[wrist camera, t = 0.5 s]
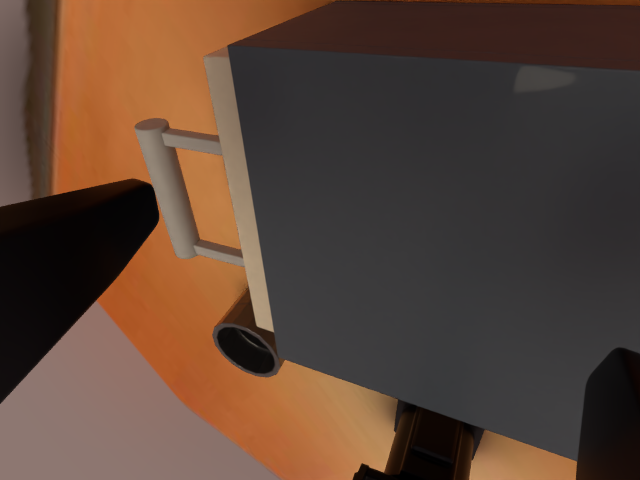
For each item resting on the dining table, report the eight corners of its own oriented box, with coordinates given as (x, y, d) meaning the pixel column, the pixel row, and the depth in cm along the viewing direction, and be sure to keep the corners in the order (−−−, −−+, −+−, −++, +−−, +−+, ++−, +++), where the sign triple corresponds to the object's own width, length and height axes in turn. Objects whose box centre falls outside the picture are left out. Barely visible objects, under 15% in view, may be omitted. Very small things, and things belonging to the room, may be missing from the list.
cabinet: (339, 255, 27) (277, 357, 21) (335, 0, 18) (226, 44, 12) (660, 333, 21) (708, 507, 15) (887, 9, 12) (1234, 106, 6)
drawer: (244, 235, 28) (181, 302, 23) (203, 15, 20) (92, 47, 15) (604, 322, 21) (621, 446, 16) (765, 33, 13) (899, 107, 8)
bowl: (308, 341, 34) (283, 386, 31) (249, 322, 36) (220, 362, 33) (303, 292, 31) (275, 337, 27) (239, 274, 33) (205, 314, 29)
